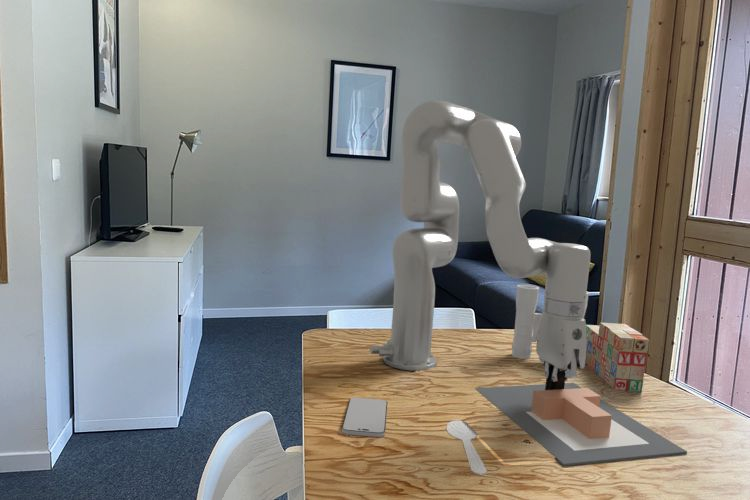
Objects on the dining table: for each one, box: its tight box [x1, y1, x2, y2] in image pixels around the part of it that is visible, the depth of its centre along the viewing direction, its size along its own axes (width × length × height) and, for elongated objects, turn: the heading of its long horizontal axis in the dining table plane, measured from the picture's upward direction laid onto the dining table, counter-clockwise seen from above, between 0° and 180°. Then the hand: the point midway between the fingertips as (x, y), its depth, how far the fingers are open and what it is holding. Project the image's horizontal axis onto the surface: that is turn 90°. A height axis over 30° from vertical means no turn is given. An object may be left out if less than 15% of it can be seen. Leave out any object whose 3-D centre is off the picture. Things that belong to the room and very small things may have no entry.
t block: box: [531, 387, 612, 439], centre depth 101 cm, size 12×12×4 cm
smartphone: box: [341, 397, 388, 438], centre depth 99 cm, size 7×1×15 cm
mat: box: [474, 382, 688, 467], centre depth 104 cm, size 24×31×1 cm
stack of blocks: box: [585, 322, 650, 394], centre depth 130 cm, size 21×6×12 cm, turn 178°
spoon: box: [446, 419, 488, 475], centre depth 91 cm, size 5×18×1 cm, turn 3°
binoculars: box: [511, 284, 590, 360], centre depth 138 cm, size 17×5×18 cm, turn 80°
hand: (553, 398), depth 109 cm, fingers closed
